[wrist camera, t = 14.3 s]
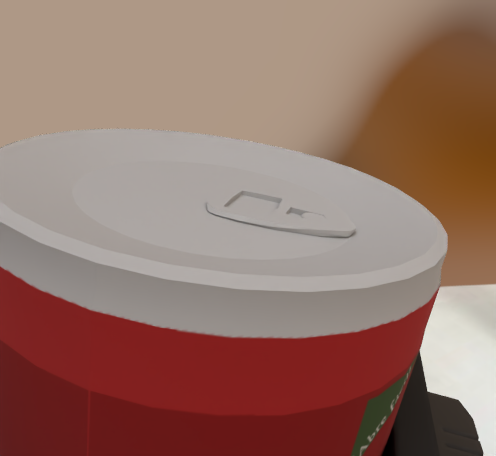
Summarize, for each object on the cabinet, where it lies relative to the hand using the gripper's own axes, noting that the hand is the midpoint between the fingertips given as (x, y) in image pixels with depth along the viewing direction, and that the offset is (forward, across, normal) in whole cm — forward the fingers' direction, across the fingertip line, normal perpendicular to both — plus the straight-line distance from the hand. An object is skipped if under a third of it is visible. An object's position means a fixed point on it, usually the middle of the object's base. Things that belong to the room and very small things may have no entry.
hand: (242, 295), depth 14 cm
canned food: (-5, 0, -6) cm, 8 cm away
